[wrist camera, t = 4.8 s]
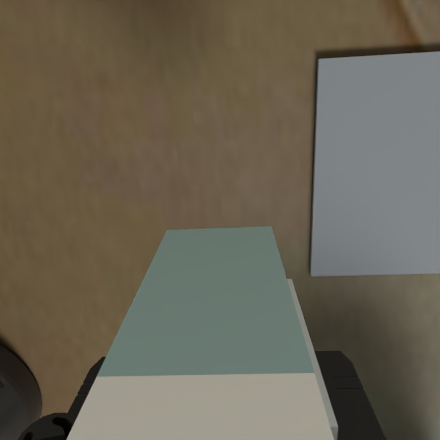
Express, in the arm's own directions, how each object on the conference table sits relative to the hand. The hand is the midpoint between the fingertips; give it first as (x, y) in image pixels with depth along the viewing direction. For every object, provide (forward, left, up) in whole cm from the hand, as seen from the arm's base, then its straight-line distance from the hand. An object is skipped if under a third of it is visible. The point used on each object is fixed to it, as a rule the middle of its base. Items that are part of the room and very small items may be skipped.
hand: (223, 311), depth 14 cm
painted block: (0, 0, 0) cm, 0 cm away
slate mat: (+16, +2, -14) cm, 21 cm away
